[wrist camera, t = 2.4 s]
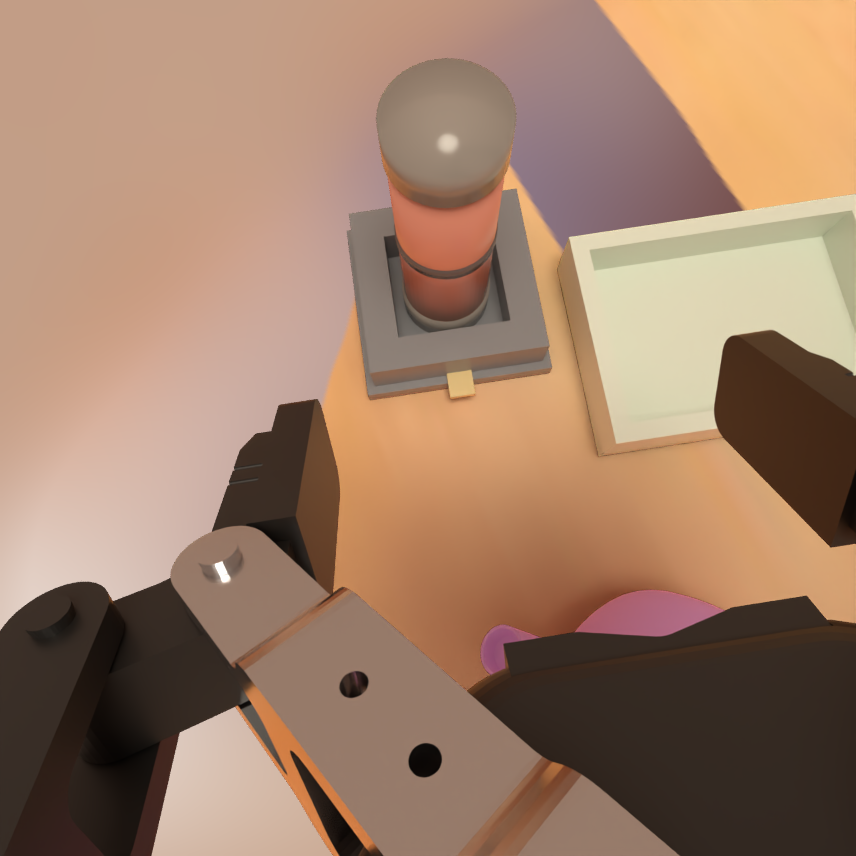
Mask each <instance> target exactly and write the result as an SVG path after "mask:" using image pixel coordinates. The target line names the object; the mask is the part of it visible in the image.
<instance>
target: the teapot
mask: <svg viewBox="0 0 856 856" xmlns="http://www.w3.org/2000/svg"><path fill="white" fill-rule="evenodd" d="M723 611H725V610H722V609H720V608H718V607H716V606H714V605H712V604H709V603H706V602H703V601H701V600H698V599H695V598H692V597H688V596H685V595H681V594H677V593H673V592H669V591H662V590H641V591H634V592H631V593H627V594H623V595H621V596H619V597H617V598H615V599H613V600H611V601H609V602H607V603H606V604H604V605H603V606H602V607H600V608H599V609H597V610H596V611H595V612H594V613H593V614H591V615H590V616H589V617H588V618H587V619H586V620H585V621H584V622H583V623H582V624H581V625H580V626H579V627H578V628H577V630H576V631H575V632H589V633H606V634H623V635H640V636H666V635H669V634H672V633H674V632H677V631H679V630H681V629H684V628H686V627H688V626H691V625H693V624H695V623H698V622H700V621H702V620H704V619H707V618H709V617H711V616H714V615H716V614H718V613H721V612H723ZM536 638H541V637H538V636H536V635H533V634H530V633H527V632H525V631H522V630H519V629H517V628H514V627H511V626H508V625H498V626H495V627H493V628H492V629H491V630H490V631H489V632H488V633H487V634H486V635H485V637H484V639H483V642H482V645H481V654H480V655H481V661H482V664H483V666H484V668H485V670H486V671H487V672H488V673H489V674H490V675H492V674H493V673H496V672H498V671H500V670H502V669H505V658H504V647H503V644H504V643H510V642H517V641H523V640H529V639H536Z"/></svg>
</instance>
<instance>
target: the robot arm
mask: <svg viewBox="0 0 856 856" xmlns="http://www.w3.org/2000/svg"><path fill="white" fill-rule="evenodd" d="M714 417H715V422H716V425H717V428H718V430H719V432H720V434H721V435H722V437H723V438H724V439H725V440H726V441H727V442H728V443H729V444H730V445H731V446H732V447H733V448H734V449H735V450H736V451H737V452H738V453H739V454H740V455H741V456H742V457H743V458H744V459H745V460H746V461H747V462H748V463H749V464H750V465H751V466H752V467H753V468H754V470H755V471H756V472H757V473H758V474H759V475H760V476H761V477H762V478H763V479H764V480H765V481H766V482H767V483H768V484H769V485H770V486H771V487H772V488H773V489H774V490H775V491H776V492H777V493H778V494H779V495H780V496H781V497H782V498H783V499H784V500H785V501H786V502H787V503H788V504H789V505H790V506H791V507H792V508H793V509H794V510H795V511H796V513H797V514H798V515H799V516H800V517H801V518H802V519H803V520H804V521H805V522H806V523H807V524H808V525H809V526H810V527H811V528H812V529H813V530H814V531H815V532H816V533H817V534H818V535H819V536H820V537H821V538H822V539H823V540H824V541H825V542H826V543H827V544H828V545H829V546H830V547H837V546H843V545H850V544H856V375H855V376H854V375H853V372H852V371H850V370H849V369H847V368H845V367H844V366H842V365H840V364H839V363H837V362H836V361H834V360H832V359H829V358H826V357H823V356H820V355H817V354H814V353H811V352H809V351H807V350H805V349H804V348H802V347H801V346H799V345H798V344H796V343H794V342H793V341H791V340H790V339H788V338H786V337H785V336H783V335H782V334H780V333H778V332H777V331H775V330H765V331H759V332H752V333H746V334H739V335H733V336H730V337H729V338H728V339H727V340H726V342H725V344H724V347H723V351H722V357H721V364H720V371H719V377H718V384H717V390H716V397H715V403H714ZM229 484H230V485H228V486H227V489H226V492H225V495H224V498H223V501H222V504H221V507H220V509H219V512H218V515H217V518H216V521H215V524H214V527H213V530H212V532H211V533H208V534H206V535H204V536H202V537H201V538H199V539H198V540H196V541H194V542H193V543H192V544H190V545H189V546H188V547H187V548H186V549H185V550H184V551H183V552H182V553H181V554H180V555H179V556H178V558H177V559H176V561H175V562H174V565H173V567H172V569H171V576H170V577H171V578H169V579H167V580H166V581H163V582H161V583H159V584H157V585H154V586H151V587H149V588H146V589H144V590H141V591H138V592H136V593H134V594H131V595H128V596H126V597H123V598H121V599H118V600H115V601H112V599H111V597H110V596H109V594H108V592H107V591H106V589H105V588H104V587H103V586H101V585H99V584H97V583H92V582H77V583H71V584H67V585H63V586H60V587H58V588H55V589H53V590H50V591H48V592H46V593H44V594H42V595H40V596H39V597H37V598H35V599H34V600H32V601H31V602H29V603H28V604H26V605H25V606H24V607H22V608H21V609H20V610H19V611H18V612H16V613H15V614H14V615H13V616H12V617H11V618H10V619H9V620H8V622H7V623H6V624H5V625H4V626H3V628H2V629H1V631H0V856H151V855H152V850H153V846H154V842H155V837H156V833H157V829H158V824H159V820H160V816H161V811H162V807H163V802H164V798H165V794H166V789H167V785H168V781H169V776H170V772H171V768H172V763H173V759H174V755H175V750H176V746H177V742H178V737H179V733H180V732H182V731H184V730H186V729H188V728H190V727H192V726H195V725H197V724H199V723H201V722H203V721H205V720H207V719H210V718H212V717H214V716H216V715H218V714H220V713H223V712H225V711H227V710H229V709H231V708H233V707H236V709H237V710H238V712H239V713H240V715H241V716H242V717H243V719H244V720H245V722H246V723H247V725H248V726H249V728H250V729H251V731H252V732H253V734H254V735H255V736H256V738H257V739H258V741H259V742H260V743H261V745H262V747H263V748H264V750H265V751H266V752H267V754H268V755H269V757H270V758H271V759H272V761H273V763H274V764H275V766H276V767H277V768H278V770H279V771H280V773H281V774H282V776H283V777H284V779H285V780H286V782H287V783H288V784H289V786H290V787H291V789H292V790H293V792H294V794H295V795H296V797H297V798H298V800H299V801H300V803H301V805H302V807H303V808H304V810H305V812H306V814H307V815H308V817H309V818H310V820H311V822H312V824H313V825H314V827H315V828H316V830H317V832H318V833H319V835H320V836H321V838H322V840H323V841H324V843H325V844H326V846H327V847H328V849H329V850H330V852H331V853H332V855H333V856H856V623H849V622H842V621H836V620H826V618H825V617H824V616H823V615H822V614H821V612H820V611H819V610H818V609H817V608H816V606H815V605H814V604H813V603H812V602H811V601H810V599H809V598H808V597H807V596H802V597H796V598H789V599H783V600H777V601H770V602H764V603H758V604H751V605H745V606H739V607H732V608H730V609H728V610H725V611H723V612H721V613H718V614H716V615H714V616H711V617H709V618H707V619H704V620H702V621H700V622H698V623H695V624H693V625H691V626H688V627H686V628H684V629H681V630H679V631H677V632H674V633H672V634H669V635H666V636H640V635H623V634H606V633H589V632H574V633H567V634H561V635H555V636H548V637H542V638H536V639H529V640H523V641H517V642H510V643H504V644H503V647H504V658H505V669H502V670H500V671H498V672H496V673H493V674H492V675H490V676H488V677H486V678H485V679H483V680H481V681H480V682H478V683H477V684H475V685H474V686H473V687H471V688H470V689H469V690H467V691H466V690H465V689H464V688H462V687H461V686H460V685H459V684H458V683H457V682H456V681H455V680H453V679H452V678H451V677H450V676H449V675H448V674H447V673H445V672H444V671H443V670H442V669H441V668H440V667H439V666H437V665H436V664H435V663H434V662H433V661H432V660H431V659H429V658H428V657H427V656H426V655H425V654H424V653H423V652H422V651H420V650H419V649H418V648H417V647H416V646H415V645H414V644H412V643H411V642H410V641H409V640H408V639H407V638H406V637H404V636H403V635H402V634H401V633H400V632H399V631H398V630H396V629H395V628H394V627H393V626H392V625H391V624H390V623H389V622H387V621H386V620H385V619H384V618H383V617H382V616H381V615H379V614H378V613H377V612H376V611H375V610H374V609H373V608H371V607H370V606H369V605H368V604H367V603H366V602H365V601H363V600H362V599H361V598H360V597H359V596H358V595H357V594H355V593H354V592H353V591H351V590H350V589H348V588H345V587H341V588H339V589H338V590H337V591H335V592H334V593H333V585H334V571H335V557H336V543H337V529H338V515H339V501H340V485H339V476H338V470H337V465H336V461H335V457H334V454H333V450H332V446H331V442H330V438H329V434H328V430H327V427H326V423H325V419H324V415H323V411H322V408H321V405H320V403H319V401H318V399H314V400H307V401H301V402H294V403H288V404H281V405H279V406H278V410H277V413H276V416H275V420H274V424H273V427H272V431H270V432H263V433H257V434H255V435H254V436H253V437H252V438H251V439H250V440H249V441H248V442H247V443H246V445H244V447H243V448H242V449H241V450H240V452H239V455H238V457H237V460H236V463H235V466H234V471H233V472H232V475H231V478H230V480H229Z"/></svg>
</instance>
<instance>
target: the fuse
mask: <svg viewBox="0 0 856 856" xmlns="http://www.w3.org/2000/svg"><path fill="white" fill-rule="evenodd" d="M376 123H377V131H378V137H379V144H380V150H381V157H382V162H383V167H384V169H385V172H386V175H387V176H388V183H389V189H390V196H391V203H392V210H393V216H394V231H395V238H396V244H397V247H398V250H399V257H400V263H401V270H402V291H403V297H404V304H405V308H406V311H407V313H408V315H409V317H410V318H411V320H412V321H413V322H414V323H415V324H416V325H417V326H418V327H420V328H421V329H422V330H424V331H426V332H428V333H431V332H438V331H444V330H451V329H457V328H464V327H471V326H474V325H475V324H477V322H478V321H479V320H480V319H481V317H482V316H483V314H484V312H485V310H486V307H487V302H488V295H489V289H490V277H489V275H490V268H491V262H492V255H493V249H494V246H495V243H496V237H497V231H498V216H499V209H500V202H501V196H502V189H503V183H504V176H505V174H506V172H507V169H508V166H509V163H510V157H511V151H512V144H513V138H514V132H515V126H516V108H515V104H514V100H513V98H512V95H511V93H510V91H509V90H508V88H507V87H506V85H505V84H504V83H503V82H502V81H501V80H500V78H499V77H497V76H496V75H495V74H494V73H493V72H491V71H490V70H488V69H486V68H484V67H482V66H481V65H478V64H476V63H473V62H470V61H465V60H460V59H447V58H445V59H434V60H430V61H425V62H422V63H419V64H417V65H415V66H412V67H410V68H409V69H407V70H405V71H403V72H402V73H401V74H400V75H398V76H397V77H396V78H395V79H394V80H393V81H392V82H391V83H390V84H389V85H388V87H387V88H386V90H385V91H384V93H383V94H382V97H381V99H380V101H379V104H378V108H377V115H376Z"/></svg>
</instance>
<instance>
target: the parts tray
mask: <svg viewBox="0 0 856 856" xmlns="http://www.w3.org/2000/svg"><path fill="white" fill-rule="evenodd" d="M557 271H558V275H559V280H560V284H561V289H562V293H563V298H564V302H565V307H566V311H567V316H568V320H569V325H570V329H571V334H572V339H573V343H574V348H575V352H576V357H577V361H578V366H579V370H580V375H581V379H582V384H583V388H584V393H585V397H586V402H587V406H588V411H589V415H590V420H591V425H592V429H593V434H594V438H595V443H596V447H597V452H598V456H605V455H611V454H618V453H624V452H631V451H638V450H644V449H651V448H657V447H664V446H670V445H677V444H683V443H690V442H697V441H703V440H710V439H716V438H723V437H722V435H721V434H720V432H719V430H718V428H717V425H716V422H715V417H714V403H715V397H716V390H717V384H718V377H719V371H720V364H721V357H722V351H723V347H724V344H725V342H726V340H727V339H728V338H729V337H730V336H733V335H739V334H746V333H752V332H759V331H765V330H775V331H777V332H778V333H780V334H782V335H783V336H785V337H786V338H788V339H790V340H791V341H793V342H794V343H796V344H798V345H799V346H801V347H802V348H804V349H805V350H807V351H809V352H811V353H814V354H817V355H820V356H823V357H826V358H829V359H832V360H834V361H836V362H837V363H839V364H840V365H842V366H844V367H845V368H847V369H849V370H850V371H852V372H853V375H854V376H855V375H856V194H852V195H845V196H839V197H832V198H826V199H819V200H812V201H806V202H799V203H792V204H786V205H779V206H773V207H766V208H759V209H753V210H746V211H739V212H733V213H727V214H720V215H713V216H706V217H700V218H694V219H686V220H680V221H673V222H667V223H660V224H654V225H647V226H640V227H633V228H627V229H620V230H614V231H607V232H601V233H594V234H587V235H580V236H574V237H569V239H568V241H567V244H566V247H565V249H564V252H563V255H562V257H561V260H560V263H559V265H558V268H557Z"/></svg>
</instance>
